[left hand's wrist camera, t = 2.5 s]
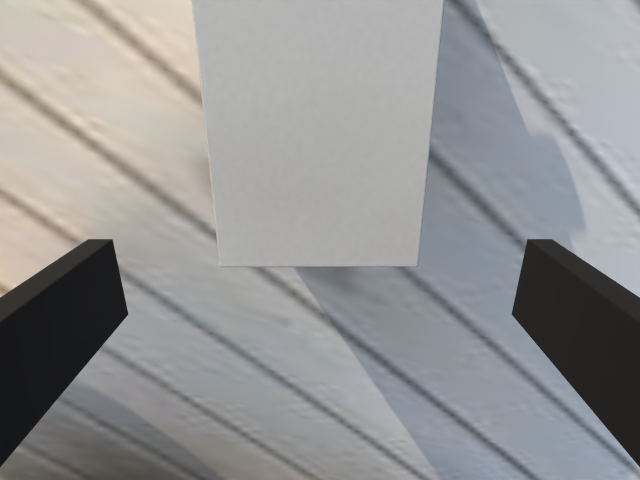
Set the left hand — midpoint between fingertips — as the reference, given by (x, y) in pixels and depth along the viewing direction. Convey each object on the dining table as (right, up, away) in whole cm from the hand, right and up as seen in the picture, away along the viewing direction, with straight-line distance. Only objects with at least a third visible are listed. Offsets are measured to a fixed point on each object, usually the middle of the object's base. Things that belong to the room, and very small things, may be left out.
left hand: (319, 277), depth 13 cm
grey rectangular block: (0, +13, +14) cm, 19 cm away
